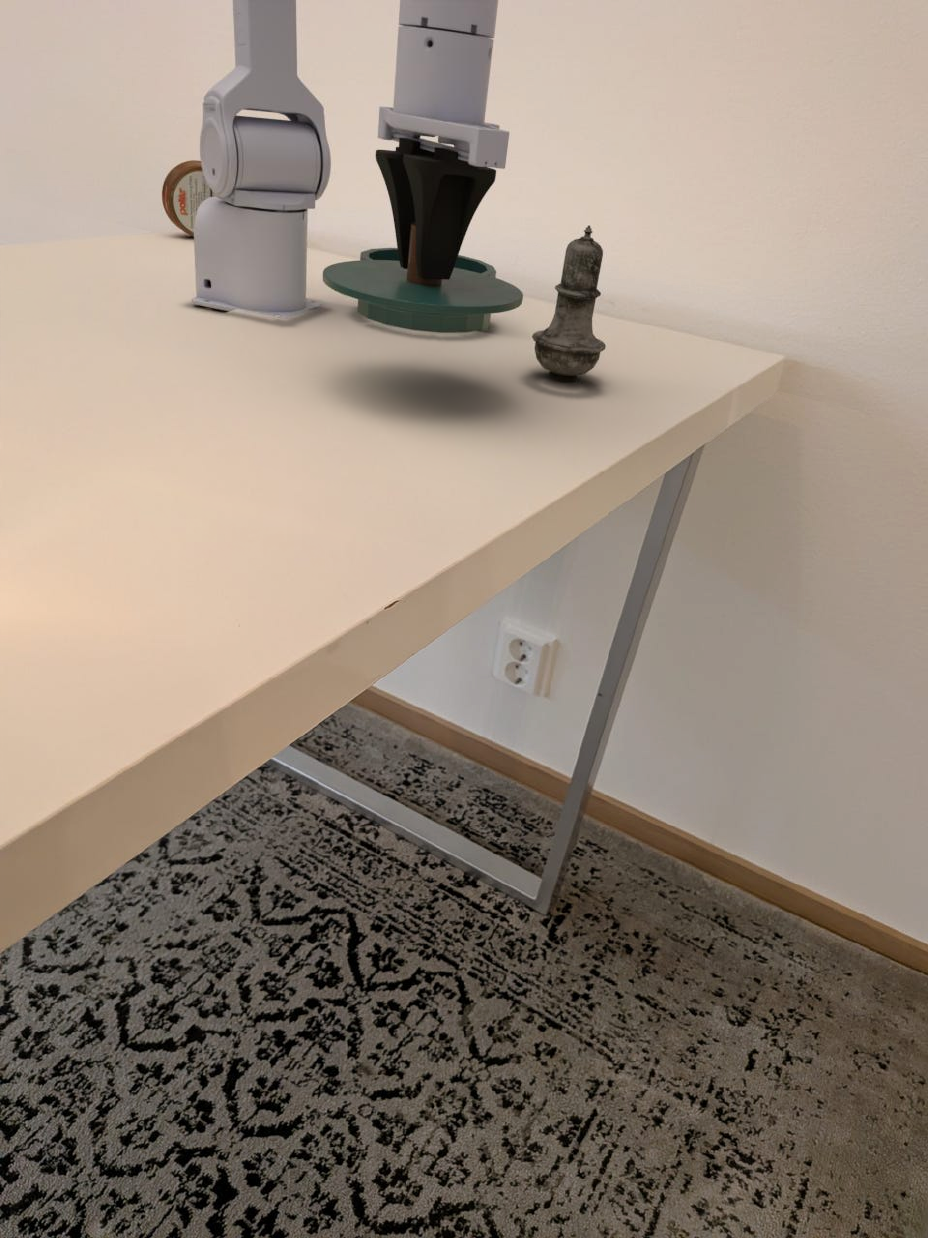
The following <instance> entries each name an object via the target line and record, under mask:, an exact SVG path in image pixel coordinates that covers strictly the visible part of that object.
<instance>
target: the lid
mask: <svg viewBox="0 0 928 1238" xmlns="http://www.w3.org/2000/svg"><path fill="white" fill-rule="evenodd" d="M322 282H323V284H324V285H325V286H327V287H328V288H330V289H331V290H333V291H335V292H337V293H339V294H341V295H344V296H347V297H349V298H352V299H356V300H358V299H359V300H362V301H365V302H367V303H370V304H373V305H376V306H379V307H383V308H387V309H392V310H396V311H402V312H408V313H414V314H423V315H433V316H472V315H479V314H491V315H492V314H500V313H505V312H509V311H513V310H516V309H518V308H520V306H521V305H522V304H523V300H524V293H523V291H522V290H521V289H520V288H518V286H516V285H514V284H512V283H509V282H508V281H505V280H503V279H500V278H497V277H496V278H495V277H491V276H488V275H485V274H481V273H477V272H473V271H468V270H463V269H458V268H454V269H453V272H452V274H451V277H450V279H449V280H447V279H422V278H420V277H419V276H418V270H417V262H416V223H411V228H410V241H409V254H408V266H407V269H404V268H402V267H401V266H400V261H391V260H360V259H359V260H350V261H342V262H341V261H340V262H337V263H333V264H330V265H327V266H326V267H325V268H324V269H323V270H322Z"/></svg>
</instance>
